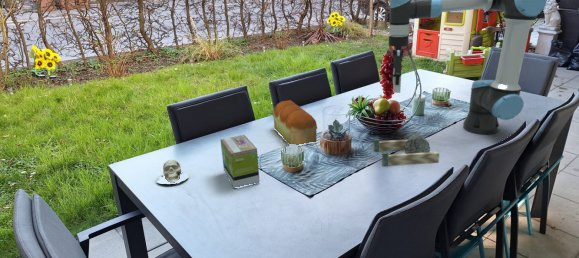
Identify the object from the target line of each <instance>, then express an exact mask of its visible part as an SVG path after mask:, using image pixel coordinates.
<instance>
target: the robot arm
mask: <svg viewBox="0 0 579 258" xmlns="http://www.w3.org/2000/svg"><path fill="white" fill-rule="evenodd" d="M547 1H548V0H389V25H388V27H387V29H388V30H389V31H388V35H389V36H388V46H390V47H394V49H392V58H393V59H392V60H393V72H392V73H393V74H392V84H393V88H392V89H393V90H392V91H393V92H392V93H395V94H397V93H398V94H400V93H401V89H402V88H401V87H402V85H401V84H402V68H403V67H402V62H403V56H404V49H402V47H406V46H408V45H409V34H410V20H413V19H433V18H438V17H439V16H440V15H441V14H442V13H446V12H447V13H449V12H459V11H460V12H461V11H471V10H483V11H485V12H487V11H496V12H502V13H503V20H504V21H505V24H506V25H505V30H504V34H503V39H502V45H501V49H500V55H499V60H498V65H497V70H496V75H495V79H478V80H474V81H473V82H472V85H471V88H470V91H471V92H470V99H469V109H468V113H467V115H466V116H465V119H464V121H463V125H462V127H463V130H465V131H467V132H469V133H473V134H477V135H493V134H496V133H498V132H499V129H500V124H499V121H498V119H500V120H503V121H508V120H511V119H514V118H516V117H517V116H518V115H519V114H521V112H522V111H523V108H524V106H525V105H524V102H525V101H524V99H523V98H522V96H520V95H521V90H522V88H521V86H520V85H519V80H520V75H521V71H522V66H523V62H524V57H525V52H526V48H527V43H528V38H529V34H530V31H531V30H530V29H531V25H532V24H533V23H534V22H536V20H537V17H538V15H539V14H541V12H542V11H544V9H545V8H546V6H547Z"/></svg>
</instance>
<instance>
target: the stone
mask: <svg viewBox="0 0 579 258" xmlns="http://www.w3.org/2000/svg"><path fill="white" fill-rule="evenodd" d="M407 140H408V141H407V142H406V144H405V150H404V154H408V153H425V152H431V146H430V142H429V141H428V140H427V139H426V137H425V136H422V135H421V134H418V133H414V134H412V135H411V136H410V137H409V138H408V139H407Z"/></svg>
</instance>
